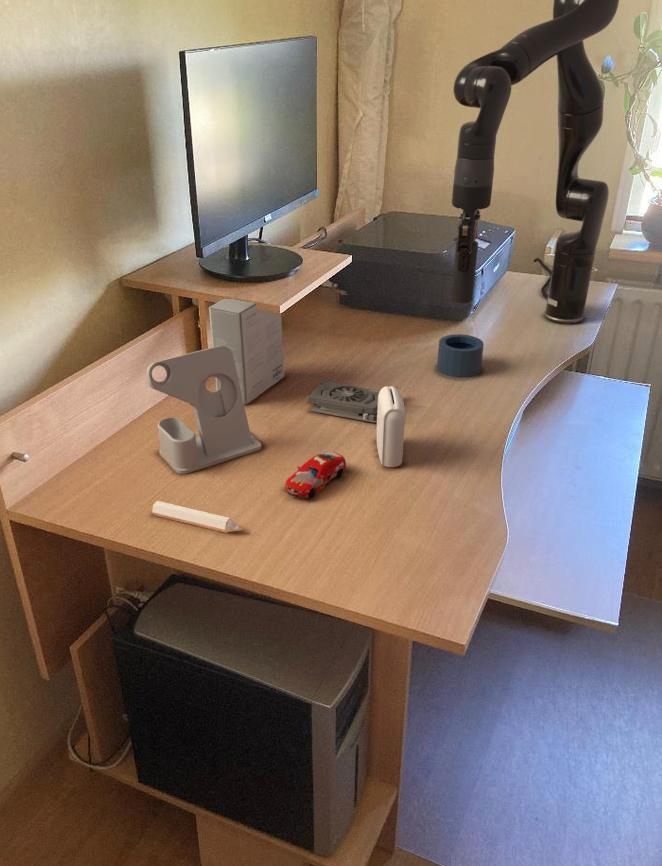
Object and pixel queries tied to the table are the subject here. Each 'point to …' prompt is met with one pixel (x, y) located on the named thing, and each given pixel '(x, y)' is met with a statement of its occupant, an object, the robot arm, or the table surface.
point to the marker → (194, 517)
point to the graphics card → (345, 401)
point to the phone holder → (203, 411)
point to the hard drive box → (249, 344)
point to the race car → (315, 474)
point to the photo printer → (390, 426)
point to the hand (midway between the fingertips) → (464, 267)
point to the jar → (460, 355)
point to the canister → (464, 277)
